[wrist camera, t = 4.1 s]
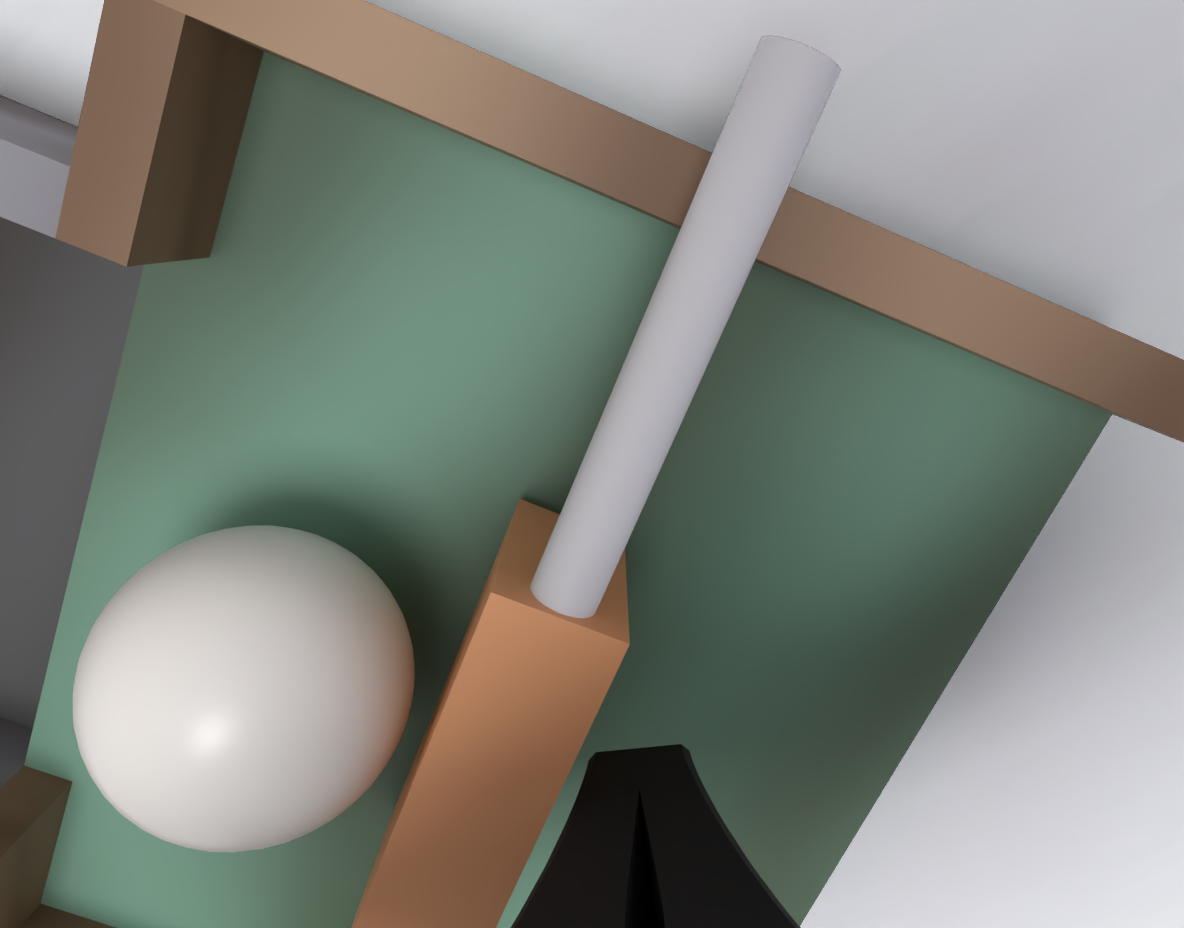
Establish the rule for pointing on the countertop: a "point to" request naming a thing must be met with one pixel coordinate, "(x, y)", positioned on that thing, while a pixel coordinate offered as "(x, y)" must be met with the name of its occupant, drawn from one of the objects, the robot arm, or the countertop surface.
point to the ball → (243, 688)
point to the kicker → (583, 548)
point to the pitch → (488, 429)
